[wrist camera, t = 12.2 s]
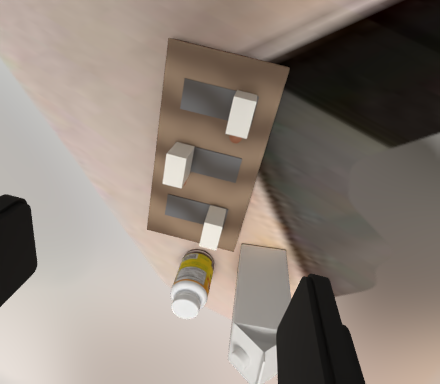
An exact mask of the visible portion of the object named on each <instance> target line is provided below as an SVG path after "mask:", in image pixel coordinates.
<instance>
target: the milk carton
mask: <svg viewBox="0 0 440 384" xmlns="http://www.w3.org/2000/svg"><path fill="white" fill-rule="evenodd" d="M290 301H291V293H290V284H289V275H288V266H287V257H286V250H280V249H273V248H267V247H260V246H253V245H246V244H242V245H241V251H240V258H239V265H238V272H237V280H236V289H235V298H234V307H233V316H232V325H231V334H230V343H229V353H228V360H229V361H230V363H231V364H232V365H233V366H234V367H235V368H236V370H237V371H238V372H239V373H240V374H241V375H242V376H243V377H244V379H245V380H246V381H247V382H248V383H249V384H264V383H266V382H267V381H269V380H270V379H271V378H273V377H274V376H276V375H277V374H278V372H277V349H276V333H277V328H278V326H279V324H280V322H281V320H282V318H283V316H284V314H285V311H286V309H287V307H288V305H289V303H290Z"/></svg>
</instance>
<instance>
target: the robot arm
mask: <svg viewBox="0 0 440 384" xmlns="http://www.w3.org/2000/svg"><path fill="white" fill-rule="evenodd" d="M36 267H37V256H36V248H35V240H34V233H33V224H32V216H31V208H30V206H29V205H28V204H27V202H26V200H25V199H22V198H19V197H14V196H11V195H2V196H0V307H1V306H2V305H3V304H4V303H5V301H7V300H8V299H9V298H10V297H11V296H12V295H13V294H14V293H15V292H16V291H17V290H18V289H19V288H20V287H21V285H23V284H24V283H25V282H26V281H27V279H28V278H29V277H30V276H31V275H32V274H33V273H34V272H35V270H36ZM276 349H277V372H278V384H365V381H364V377H363V374H362V371H361V367H360V364H359V361H358V358H357V354H356V351H355V347H354V344H353V341H352V338H351V334H350V332H349V330H348V328H347V327H346V326H345V325H342V322H341V319H340V315H339V312H338V308H337V305H336V301H335V297H334V294H333V290H332V287H331V283H330V280H329V279H328V278H326V277H323V276H319V275H315V274H309V275H308V277H305V276H303V277H302V279H301V281H300V283H299V285H298V287H297V289H296V291H295V293H294V295H293V297H292V299H291V301H290V303H289V305H288V307H287V309H286V311H285V314H284V316H283V318H282V320H281V322H280V324H279V326H278V328H277V333H276Z"/></svg>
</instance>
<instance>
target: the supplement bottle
mask: <svg viewBox="0 0 440 384" xmlns="http://www.w3.org/2000/svg"><path fill="white" fill-rule="evenodd" d="M213 270H214V262H213V259H212V258H211V256H210V255H209V254H207V253H206V252H204V251H200V250H193V251H190V252H188V253H186V254H185V255H184V257H183V259H182V262H181V265H180V267H179V270H178V273H177V275H176V278H175V281H174V283H173V286H172V289H171V293H170V294H171V299H172V301H173V303H172V306H171V308H172V311H173V313H174V314H175V315H177V316H178V317H180V318H183V319H192V318H195V317H196V316H197V315H198V313H199V309H200V308H202V307H203V306H204V305H205V304H206V302H207V298H208V293H209V289H210V284H211V279H212V274H213Z"/></svg>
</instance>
